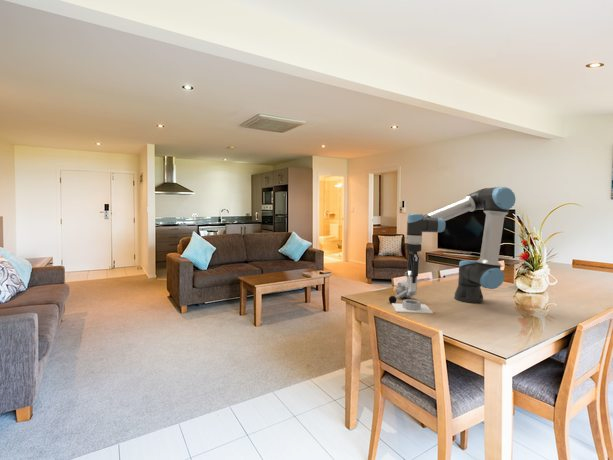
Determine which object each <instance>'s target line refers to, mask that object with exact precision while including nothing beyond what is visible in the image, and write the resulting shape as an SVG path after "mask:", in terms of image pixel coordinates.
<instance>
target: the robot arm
mask: <svg viewBox="0 0 613 460" xmlns="http://www.w3.org/2000/svg"><path fill="white" fill-rule="evenodd" d="M515 204H516V194H515V192H513V190H512V189H511V188H509V187H507V186H497V187H496V186H495V187H486V188H481V189H478V190H475V191H474V192H471V193H469V194H467V195H465V196H464V197H463V198H462V199H460V200H457V201H455V202H453V203H450V204H448V205H445V206H443V207H440V208H438V209H436V210H433V211H431V212H428V213H426V214H423V213H409V214H407V220H406V223H407V224H406V236H405V239H406V244H405V251H407V252H409V253H407V271H408V270H411V275H410V277H411V283H410V289H416V278H417V279H418V276H419V262H420V261H419V260H420V257H419V255H418V252H419V253H420V252H421V251H422V244H423V242H422V241H423V233H442V232H445V229H446V221H448V220H450V219H451V220H452V219H453V218H455V217H457V216H460V215H463V214H465V213H468V212H474V211H478V210H483V213H484V214H485V219H484V228H483V235H482V241H481V242H482V243H481V248H480V256H479V259H477V260H460V261H459V264H458V265H459V266H458V281H457V282H458V283H457V286H456V290H455V292H454V296H453V297H454V299H455V300H456V301H460V302H462V303H463V302H464V303H471V304H472V303H473V304H479V303H483V302H484V295H483V292H482V289H481V287H482V288H484V289H488V290H495V289H497V288H499V287H500V286H501V285H502V284H503V283H504V280H505V273H504V271H503V270H502V269H501V267H502V264H501V263H500V262H499V256H500V250H501V243H502V238H503V237H502V236H503V228H504V221H505V217H506V216H507V215H508V214H509V211H510V209H512V208H513V207H514V205H515ZM407 271H406V272H407Z"/></svg>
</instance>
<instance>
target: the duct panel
mask: <svg viewBox="0 0 613 460" xmlns="http://www.w3.org/2000/svg"><path fill="white" fill-rule="evenodd" d="M391 306H392V307H393V309H394V311H395V312H396V313H408V314H432V315H433V314H434V312H433V311H432V310H431V309H430V307H429V306H427V305H426V303H423V304H422V303H421V301H419V300H415V299H403V300H402V302H401V303H398V302H396V303H391Z"/></svg>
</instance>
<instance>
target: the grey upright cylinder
mask: <svg viewBox="0 0 613 460" xmlns="http://www.w3.org/2000/svg"><path fill="white" fill-rule="evenodd" d="M410 275H411V270H408V271H405V272H404V277H406V281H407V290H406V294H409V295H413V296H416V295H417V291H418V290H417V289H418V287H417V286H418V277H417V278H416V289H410V283H411V277H410Z"/></svg>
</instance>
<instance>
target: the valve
mask: <svg viewBox="0 0 613 460" xmlns="http://www.w3.org/2000/svg"><path fill="white" fill-rule="evenodd" d="M406 290H407V280H401V281H399V282H398V283H397V286H396V289H395V292H396V296H395V295H391V296H389V298H388V301H389V303H390V304H392V303H397V301H398V298H402V299H403V298H406V299H410V298H412V297H414V295H409V294H406Z"/></svg>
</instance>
